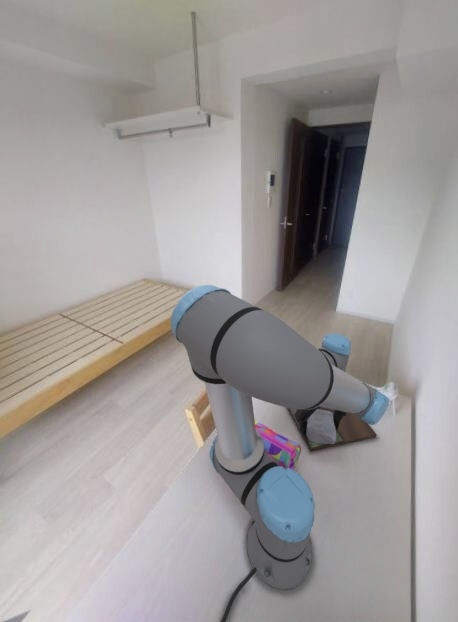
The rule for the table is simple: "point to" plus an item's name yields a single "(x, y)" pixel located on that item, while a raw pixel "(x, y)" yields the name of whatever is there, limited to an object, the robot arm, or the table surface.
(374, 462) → the table surface
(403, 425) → the table surface
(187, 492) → the table surface
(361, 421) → the board
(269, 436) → the pencil case
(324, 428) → the stone block
